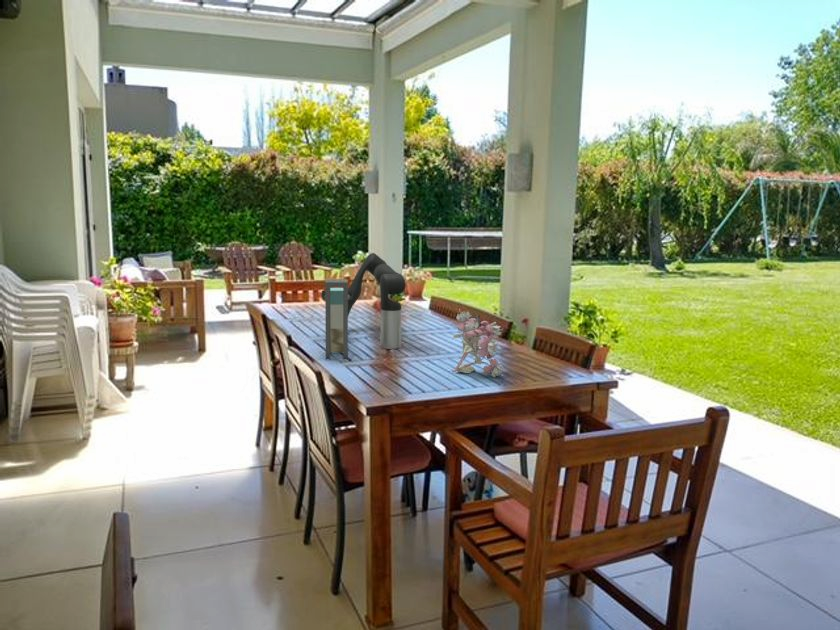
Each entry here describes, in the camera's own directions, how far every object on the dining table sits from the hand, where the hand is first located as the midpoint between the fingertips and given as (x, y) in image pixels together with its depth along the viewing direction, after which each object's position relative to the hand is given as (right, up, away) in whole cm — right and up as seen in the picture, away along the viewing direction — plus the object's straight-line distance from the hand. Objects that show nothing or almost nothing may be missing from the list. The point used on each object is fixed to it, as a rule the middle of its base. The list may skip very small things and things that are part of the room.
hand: (337, 289), depth 296 cm
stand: (+3, -29, -22) cm, 36 cm away
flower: (+61, -35, -48) cm, 85 cm away
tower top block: (+1, -17, -9) cm, 19 cm away
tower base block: (+1, -27, -8) cm, 28 cm away
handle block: (+1, -6, -7) cm, 9 cm away
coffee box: (+60, -28, -7) cm, 67 cm away
